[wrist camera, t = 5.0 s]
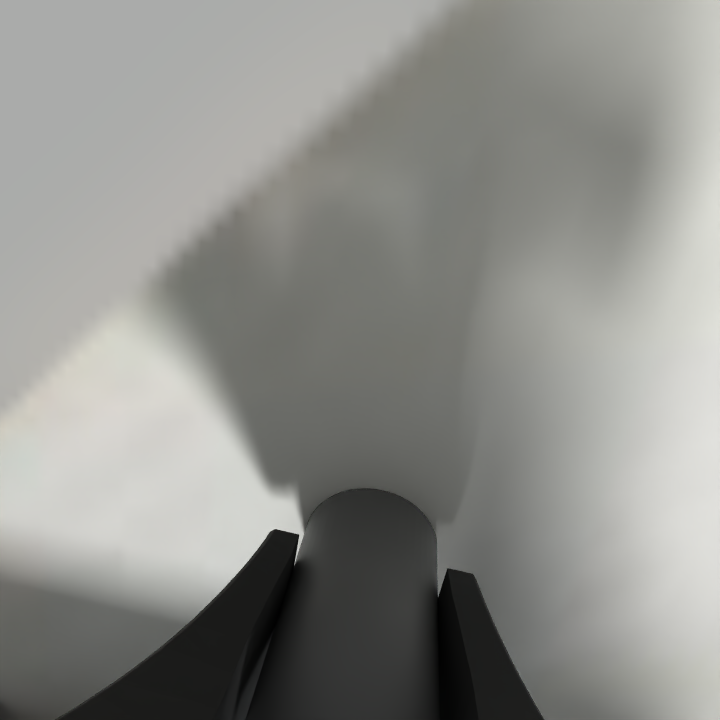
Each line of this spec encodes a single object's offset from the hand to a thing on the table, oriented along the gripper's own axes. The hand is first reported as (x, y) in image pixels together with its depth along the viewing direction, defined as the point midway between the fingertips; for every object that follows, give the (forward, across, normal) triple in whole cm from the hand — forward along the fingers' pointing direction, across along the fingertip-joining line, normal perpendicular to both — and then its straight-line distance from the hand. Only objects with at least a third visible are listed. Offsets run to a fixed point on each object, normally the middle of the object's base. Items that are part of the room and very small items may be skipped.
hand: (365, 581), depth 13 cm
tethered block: (+2, 0, +6) cm, 7 cm away
